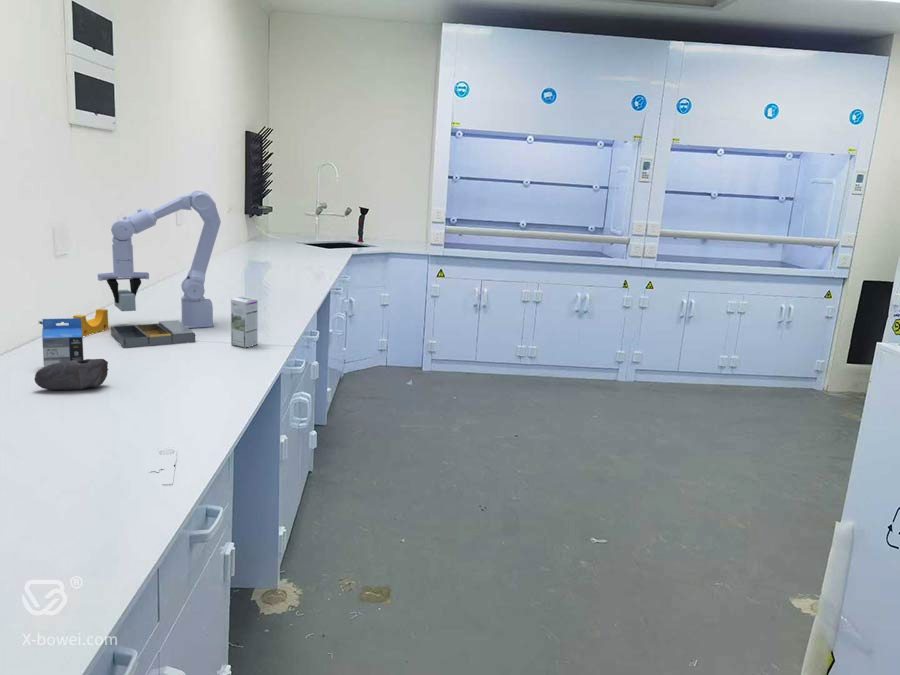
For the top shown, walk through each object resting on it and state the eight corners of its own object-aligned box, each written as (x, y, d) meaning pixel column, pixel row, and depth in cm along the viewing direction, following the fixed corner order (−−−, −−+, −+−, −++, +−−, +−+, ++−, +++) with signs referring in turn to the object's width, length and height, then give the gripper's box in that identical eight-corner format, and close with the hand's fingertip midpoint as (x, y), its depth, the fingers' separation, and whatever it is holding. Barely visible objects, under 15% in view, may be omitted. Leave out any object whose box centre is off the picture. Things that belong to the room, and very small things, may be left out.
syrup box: (258, 345, 207) (258, 298, 204) (245, 348, 202) (245, 301, 198) (243, 342, 209) (244, 296, 206) (230, 345, 204) (230, 298, 201)
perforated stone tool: (33, 394, 152) (31, 364, 150) (37, 387, 156) (35, 358, 155) (108, 390, 158) (106, 362, 156) (109, 384, 162) (108, 356, 161)
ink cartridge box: (43, 370, 168) (40, 322, 165) (44, 366, 172) (41, 318, 169) (84, 368, 172) (81, 321, 170) (84, 364, 176) (81, 317, 173)
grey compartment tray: (179, 330, 217) (178, 319, 217) (195, 342, 205) (195, 331, 204) (111, 334, 205) (110, 324, 205) (123, 348, 193) (123, 336, 192)
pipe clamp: (95, 328, 213) (94, 308, 211) (108, 329, 212) (107, 309, 210) (68, 336, 201) (67, 315, 200) (82, 338, 200) (81, 316, 199)
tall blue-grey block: (128, 304, 219) (127, 289, 218) (135, 310, 212) (135, 295, 211) (114, 305, 217) (113, 290, 216) (121, 311, 209) (121, 295, 208)
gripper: (144, 257, 218) (145, 298, 221) (94, 258, 209) (96, 301, 212) (150, 260, 213) (151, 302, 216) (99, 261, 204) (101, 305, 207)
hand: (124, 302), depth 214 cm, fingers closed on tall blue-grey block, 4 cm apart
